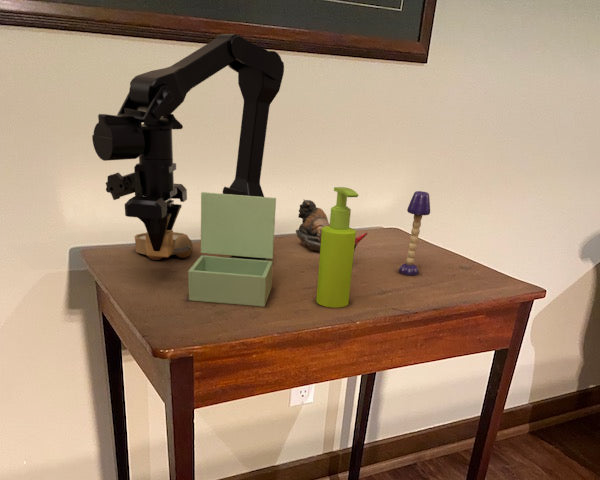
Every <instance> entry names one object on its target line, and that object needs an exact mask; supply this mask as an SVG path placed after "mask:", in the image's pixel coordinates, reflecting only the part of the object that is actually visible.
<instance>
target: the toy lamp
mask: <svg viewBox="0 0 600 480" xmlns="http://www.w3.org/2000/svg"><path fill="white" fill-rule="evenodd" d="M430 200H431V199H430V193H429V192H427V191H421V190H415V192H414V193H413V195H412V196H411V199H410V201H409V204H408V207H407V209H406V211H407V213H408V214H411V215H413V221H412V228H411V232H410V233H411V234H410V238H409V243H408V250H407V257H406V259H405V263H403V264H402V265H400V266H399V268H398V273H400V274H401V275H405V276H418V275H419V274H420V273H419V268H418V266H417V265H415V264H414V263H415V256H416V254H417V253H416V250H417V248H418V242H419V235H420V231H421V229H420V228H421V226H422V220H423V216H429V215H430V214H431V201H430Z"/></svg>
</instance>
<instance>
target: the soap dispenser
mask: <svg viewBox="0 0 600 480" xmlns="http://www.w3.org/2000/svg"><path fill="white" fill-rule="evenodd" d="M333 191H334V192H336V202H335V203H336V205H333V206H331V208H330V214H329V225H330V226H325V227H323V228H322V234H321V247H320V251H319V258H318V259H319V261H318V274H317V286H316V288H317V289H316V298H315V302H316V304H317V305H319V306H323V307H325V308H332V309H333V308H334V309H340V308H345V307H347V306H348V305H349V302H350V293H351V282H352V276H353V275H352V274H353V264H354V263H353V262H354V256H355V250H354V246H355V238H357V237H356V235H357V230H356V229H354V228H352V227H350V222H351V212H352V210H351V208H350V207H349V206H348V205H347V204H348V203H347V202H348V198H358V197H359V194H358V192H356V191H355V190H354V189H352V188H350V187H345V186H337V187H336V186H335V187H333Z"/></svg>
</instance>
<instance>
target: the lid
mask: <svg viewBox="0 0 600 480" xmlns="http://www.w3.org/2000/svg"><path fill="white" fill-rule="evenodd" d="M276 207H277V198H276V197H267V196H264V197H257V196H244V195H232V194H223V193H217V192H206V191H201V192H200V254H208V255H209V254H210V255H221V256H244V257H256V258H266V259H267V260H270V259H271V260H272V259H274V247H275V246H274V244H275V226H276V224H275V223H276Z"/></svg>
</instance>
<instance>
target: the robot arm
mask: <svg viewBox="0 0 600 480" xmlns="http://www.w3.org/2000/svg"><path fill="white" fill-rule="evenodd" d="M226 67H228V68H229V69H231V70H233V71H234V72H236V73H237V83H238V87H239V90H240V94H241V97H242V99H243V107H242V114H241V125H240V133H239V142H238V149H237V158H236V166H235V167H236V168H235V176H234V180H233V181H232V183H231V184H230V186H228V187H227V186H224V187H223V189H222V194H232V195H244V196H257V197H265V195H264V192H263V189H262V186H261V177H262V176H261V175H262V168H263V160H264V151H265V144H266V137H267V130H268V120H269V113H270V106H271V104H272V103H273V101H274V99H275V98H276V97H277V95H278V94H279V92H280V89H281V86H282V82H283V78H284V75H285V73H284V72H285V63H284V61H283V60H282V57H281V56H280V54H279V53H278V52H277V51H275V50H267V49H266V48H265V47H262V46H259V45H258V44H254V43H253V42H250V41H248V40H247V39H246V38H244V37H242V36H241V35H239V34H236V33H221V34H218V35H217V36H216V37H215V38H214V39H213V40H211V41H209V42H207V43H206V44H205V45H203V46H201V47H200V48H198V49H196V50H195V51H193V52H192V53H190V54H188V55H187V56H185V57H184V58H181V59H180V60H178V61H176V63H174V64H172V65H170V66H167V67H164V68H159V69H158V68H157V69H153V70H150V71H147V72H144V73H141V74H137V75H135V76H134V77H133V78H132V79H131V81H130V82H129V90H128V91H129V92H128V93H127V95H126V97H125V98H124V101H123V103H122V105H121V107H120V108H119V110H118V112H117V115H115V114H114V115H113V114H107V113H98V114H97V119H98V122H97V123H96V124H95V126H94V129H93V134H92V136H91V137H92V138H91V139H92V145H93V149H94V151H95V154H96V155H97V157H98V158H99V159H100V160H101V161H103V162H105V161H106V162H107V161H108V162H109V161H123V160H136V159H138V163H136V164H135V165H134V167H133V169H134V170H133V171H134V172H131V173H127V174H125V175H122V174H121V173H120V172H115V173H113V174H110V175H107V181H106V182H105V185H106V188H105V191H106V192H107V193H110V195H111V197H112V200H113V201H116V200H119V199H121V197H122V198H123V197H125V196H129V195H131V194H134V196H132V197H130V198H129V199H128V200H127V201H126V202H125V203H124V216H125V217H126V218H127V217H129V218H138V219H139V221H141V222H142V223H143V224H144V227H145V230H146V233H147V232H148V235H149V238H150V241H151V244H152V247H153V250H154V251H160V249H161V246H162V243H163V240H164V236H165V233H166V230H173V229H174V226H175V223H176V220H177V219H178V216H179V214H180V211H181V209H182V204H178V203H175V200H179V201H180V202H181V203H185V202H186V201H187V200H188V191H187V188H186V187H185V186H184V184H182V183H175V178H174V171H176V170H177V163H176V162H174V151H173V149H174V147H173V130H182V129H183V128H184V126H183V124H182V123H181V122H180V121H179V120H178V119H177V118H176V117H175V115H174V114H173V113H174V112H175V111H176V110H177V109H178V108H179V107H180V106H181V105H182V104H183V103H184V101H185V99H186V97H187V94H188V93H189V92H190V91H191V90H193V88H195V87H197V86H198V85H200V84H202V83H203V82H205V81H206V80H208V79H210V78H211V77H212V76H214V75H215V74H217V73H218V72H220V71H222V70H223V69H225V68H226ZM229 258H242V259H254V260H266V261H270V259H268V258H256V257H244V256H232V255H229Z"/></svg>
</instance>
